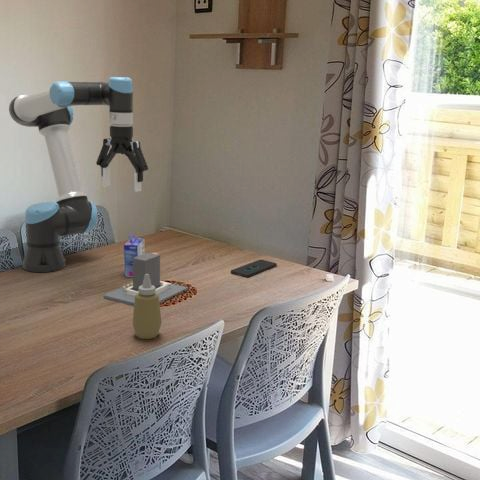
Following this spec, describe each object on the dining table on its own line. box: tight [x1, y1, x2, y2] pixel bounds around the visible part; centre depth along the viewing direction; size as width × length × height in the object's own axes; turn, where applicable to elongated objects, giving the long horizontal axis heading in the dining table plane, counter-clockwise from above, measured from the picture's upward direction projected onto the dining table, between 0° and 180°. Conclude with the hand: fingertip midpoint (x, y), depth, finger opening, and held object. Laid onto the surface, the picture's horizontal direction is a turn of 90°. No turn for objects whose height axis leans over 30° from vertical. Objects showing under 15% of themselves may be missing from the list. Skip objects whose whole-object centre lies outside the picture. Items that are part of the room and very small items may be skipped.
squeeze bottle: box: [131, 274, 163, 340], centre depth 177 cm, size 8×8×18 cm
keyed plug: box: [132, 252, 161, 291], centre depth 211 cm, size 5×9×12 cm, turn 150°
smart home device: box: [230, 259, 278, 279], centre depth 242 cm, size 8×2×20 cm
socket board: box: [103, 280, 189, 307], centre depth 212 cm, size 18×22×2 cm
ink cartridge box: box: [123, 233, 146, 278], centre depth 231 cm, size 10×6×14 cm, turn 174°
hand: (122, 189), depth 216 cm, fingers open, 13 cm apart
